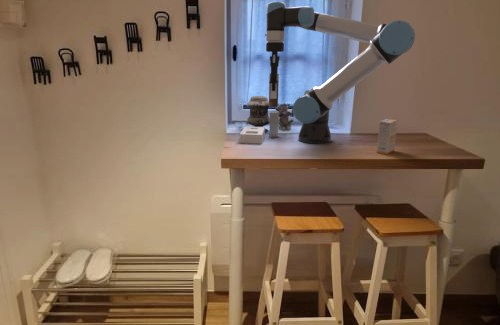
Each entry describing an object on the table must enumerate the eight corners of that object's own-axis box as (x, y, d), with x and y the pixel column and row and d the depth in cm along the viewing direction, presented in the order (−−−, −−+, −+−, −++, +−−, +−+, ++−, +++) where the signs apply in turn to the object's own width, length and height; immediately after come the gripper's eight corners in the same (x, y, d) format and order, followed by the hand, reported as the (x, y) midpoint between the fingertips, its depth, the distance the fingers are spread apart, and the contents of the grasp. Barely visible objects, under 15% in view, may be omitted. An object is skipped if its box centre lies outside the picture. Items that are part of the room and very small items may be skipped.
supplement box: (383, 149, 157) (386, 118, 154) (394, 150, 154) (398, 119, 151) (375, 152, 151) (379, 120, 148) (387, 154, 148) (391, 122, 145)
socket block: (264, 134, 184) (265, 126, 183) (261, 143, 165) (261, 134, 164) (245, 134, 185) (245, 126, 184) (239, 142, 166) (239, 134, 165)
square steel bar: (277, 135, 182) (278, 111, 179) (277, 137, 178) (278, 112, 175) (269, 135, 183) (270, 111, 179) (269, 137, 179) (269, 112, 176)
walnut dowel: (278, 105, 164) (279, 73, 161) (277, 106, 161) (278, 73, 157) (269, 105, 165) (269, 73, 161) (268, 106, 161) (269, 73, 157)
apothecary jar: (259, 128, 202) (260, 94, 197) (274, 131, 193) (275, 96, 188) (242, 130, 195) (242, 96, 190) (257, 134, 186) (258, 98, 181)
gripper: (267, 42, 164) (266, 96, 170) (264, 41, 148) (263, 99, 154) (284, 43, 163) (282, 96, 169) (283, 41, 147) (281, 100, 153)
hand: (273, 97), depth 162 cm, fingers closed on walnut dowel, 4 cm apart
